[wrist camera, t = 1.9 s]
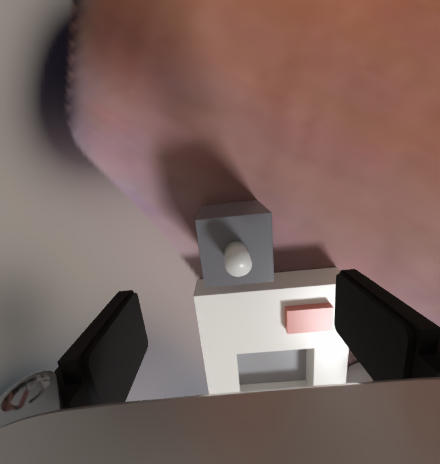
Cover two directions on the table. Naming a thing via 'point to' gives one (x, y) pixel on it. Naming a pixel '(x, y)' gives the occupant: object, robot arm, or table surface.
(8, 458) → the robot arm
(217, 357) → the socket plate
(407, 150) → the table surface
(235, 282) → the plug
